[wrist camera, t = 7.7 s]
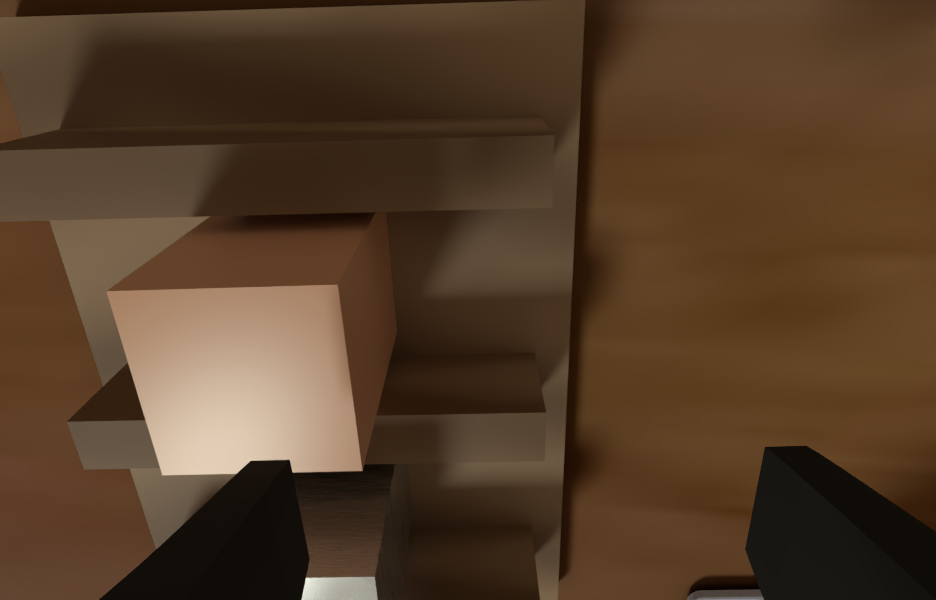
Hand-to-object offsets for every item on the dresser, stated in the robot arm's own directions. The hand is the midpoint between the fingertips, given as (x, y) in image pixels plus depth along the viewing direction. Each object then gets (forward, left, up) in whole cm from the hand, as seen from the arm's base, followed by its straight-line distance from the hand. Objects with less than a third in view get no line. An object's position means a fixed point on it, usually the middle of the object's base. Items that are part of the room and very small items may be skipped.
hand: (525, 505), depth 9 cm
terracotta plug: (+1, +5, -8) cm, 10 cm away
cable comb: (-3, +5, -9) cm, 11 cm away
